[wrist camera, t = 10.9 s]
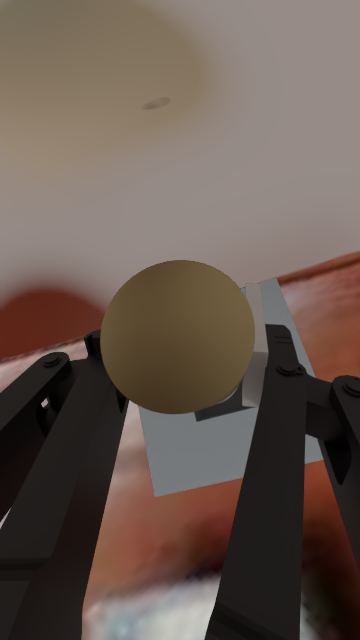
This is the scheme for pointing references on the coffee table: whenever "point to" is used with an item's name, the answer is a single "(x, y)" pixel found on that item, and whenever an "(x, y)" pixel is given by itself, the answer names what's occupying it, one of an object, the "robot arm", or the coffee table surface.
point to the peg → (178, 337)
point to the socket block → (215, 426)
